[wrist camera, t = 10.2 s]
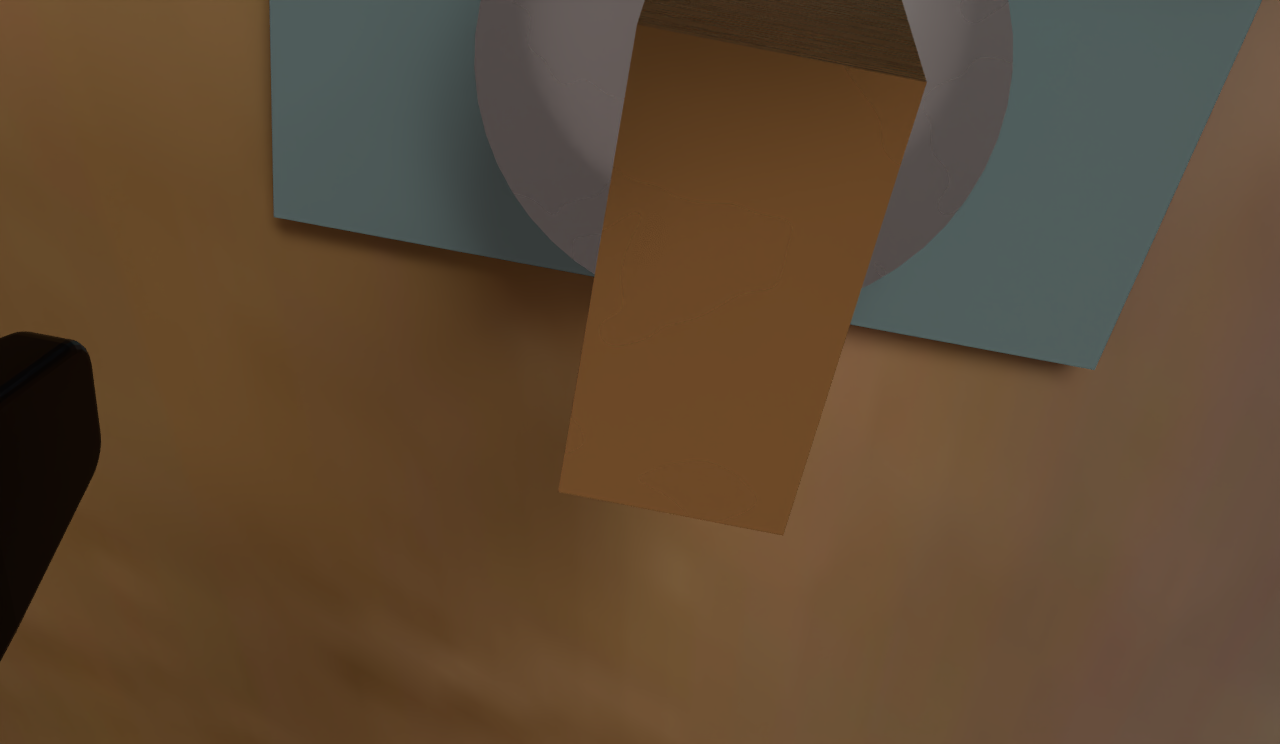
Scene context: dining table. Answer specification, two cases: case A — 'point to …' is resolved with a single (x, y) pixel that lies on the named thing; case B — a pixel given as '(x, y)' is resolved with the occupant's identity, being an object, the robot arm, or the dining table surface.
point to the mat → (898, 302)
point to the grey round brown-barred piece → (731, 210)
